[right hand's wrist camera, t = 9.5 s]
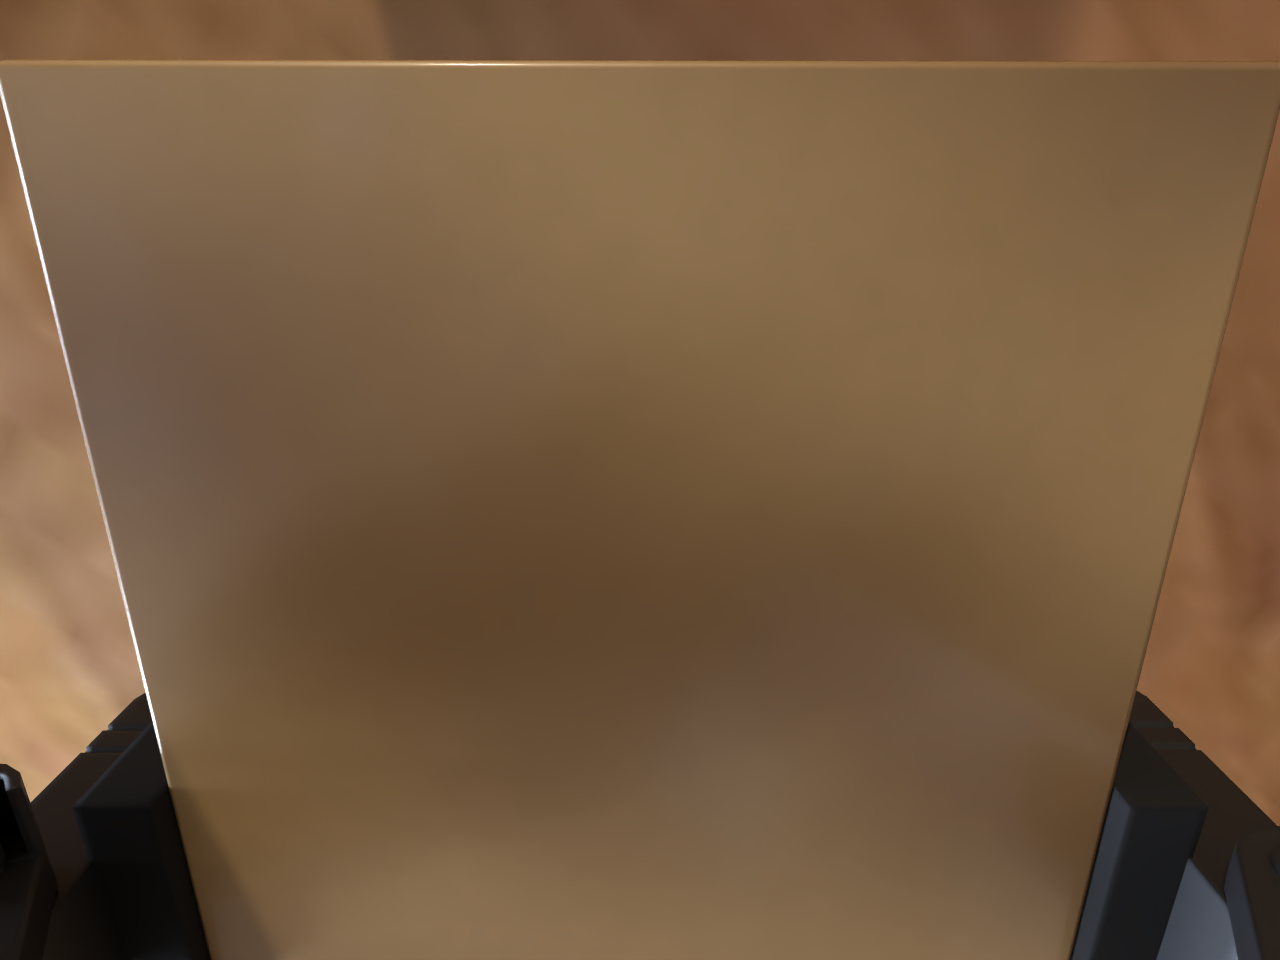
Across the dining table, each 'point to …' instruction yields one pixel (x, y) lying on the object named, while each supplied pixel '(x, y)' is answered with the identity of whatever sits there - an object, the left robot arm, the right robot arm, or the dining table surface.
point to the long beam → (640, 479)
